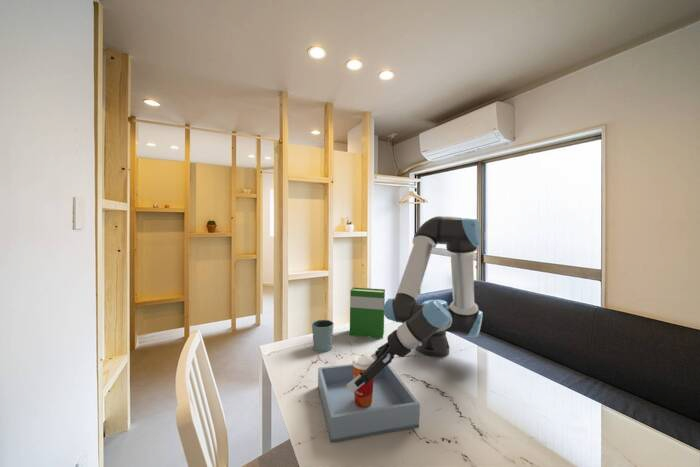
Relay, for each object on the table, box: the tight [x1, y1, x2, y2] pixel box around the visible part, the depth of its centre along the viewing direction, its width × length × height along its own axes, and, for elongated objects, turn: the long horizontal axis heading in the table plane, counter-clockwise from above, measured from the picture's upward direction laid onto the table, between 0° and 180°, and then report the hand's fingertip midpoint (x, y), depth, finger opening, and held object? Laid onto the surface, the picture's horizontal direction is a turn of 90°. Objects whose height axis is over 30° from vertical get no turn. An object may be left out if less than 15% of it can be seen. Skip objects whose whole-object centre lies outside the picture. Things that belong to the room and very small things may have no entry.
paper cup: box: [351, 354, 375, 408], centre depth 88 cm, size 8×8×14 cm
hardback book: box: [349, 287, 386, 339], centre depth 146 cm, size 18×7×24 cm, turn 79°
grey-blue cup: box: [311, 319, 334, 353], centre depth 128 cm, size 10×10×12 cm
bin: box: [317, 363, 421, 444], centre depth 88 cm, size 26×26×7 cm
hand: (356, 377), depth 89 cm, fingers open, 13 cm apart
